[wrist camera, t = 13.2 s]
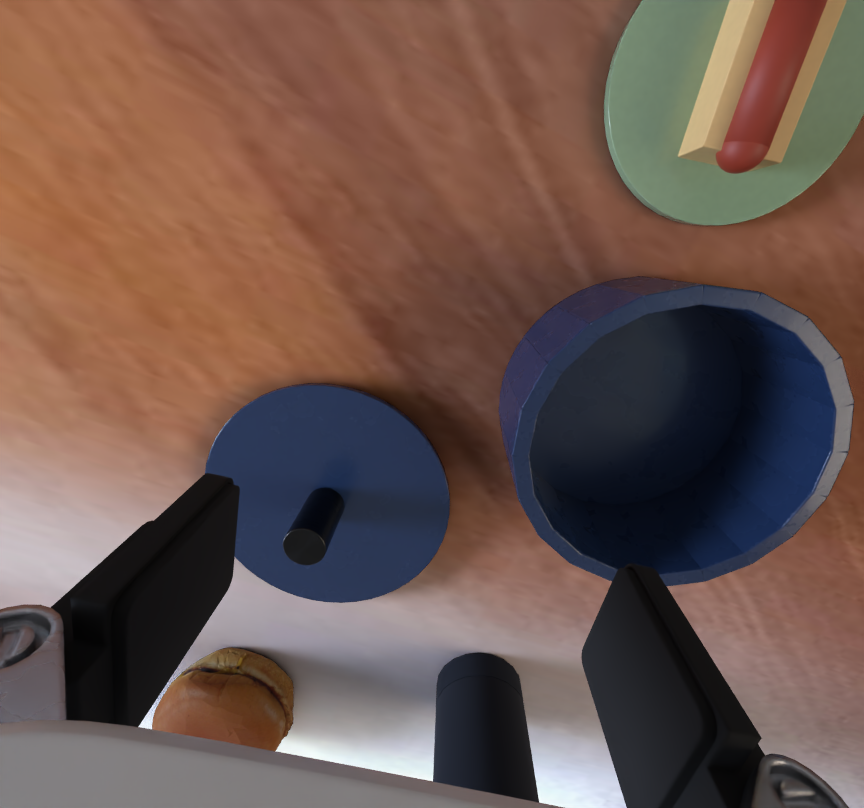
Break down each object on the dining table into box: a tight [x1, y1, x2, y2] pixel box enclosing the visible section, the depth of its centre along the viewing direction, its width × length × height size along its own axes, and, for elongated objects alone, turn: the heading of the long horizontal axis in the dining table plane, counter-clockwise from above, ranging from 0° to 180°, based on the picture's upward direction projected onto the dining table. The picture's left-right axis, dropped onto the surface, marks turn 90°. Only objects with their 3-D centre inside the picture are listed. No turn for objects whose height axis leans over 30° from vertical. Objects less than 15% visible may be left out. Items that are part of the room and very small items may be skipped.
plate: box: [604, 0, 864, 226], centre depth 21 cm, size 12×12×1 cm
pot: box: [499, 276, 854, 586], centre depth 23 cm, size 15×15×7 cm
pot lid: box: [205, 383, 450, 603], centre depth 27 cm, size 16×16×6 cm
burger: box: [152, 647, 294, 751], centre depth 34 cm, size 10×9×5 cm
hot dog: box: [678, 0, 847, 174], centre depth 19 cm, size 8×4×3 cm, turn 169°
